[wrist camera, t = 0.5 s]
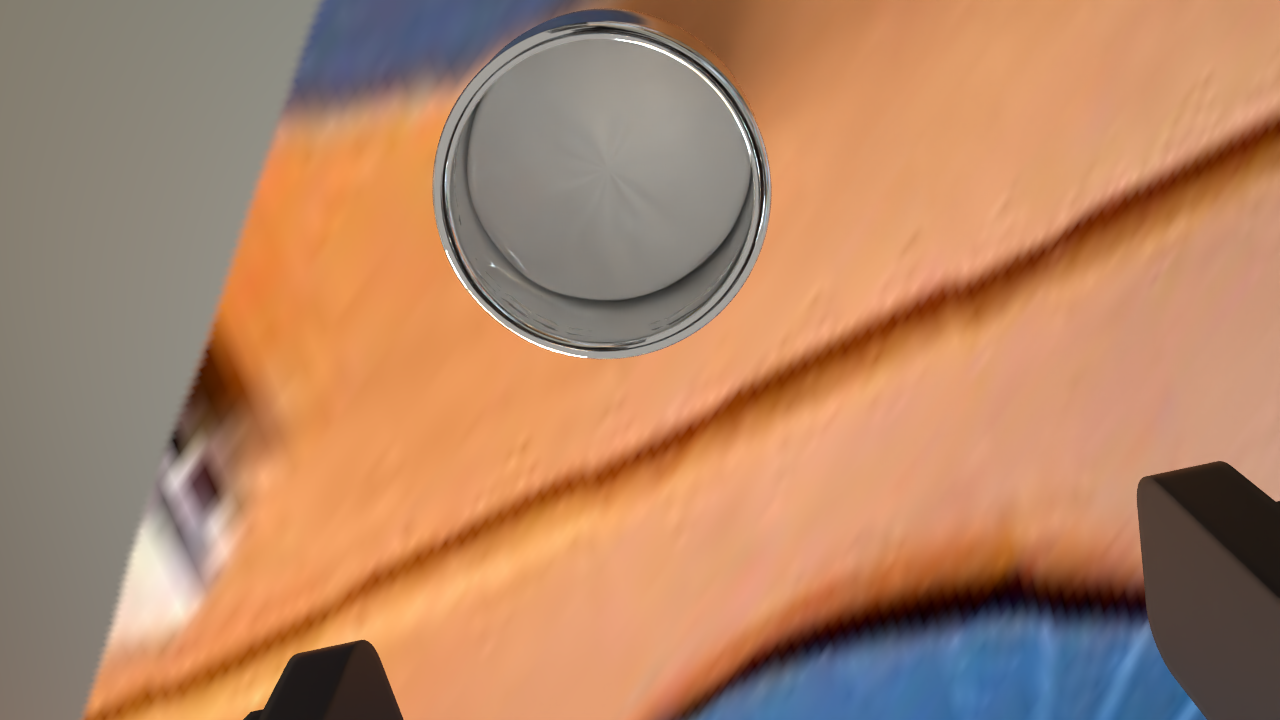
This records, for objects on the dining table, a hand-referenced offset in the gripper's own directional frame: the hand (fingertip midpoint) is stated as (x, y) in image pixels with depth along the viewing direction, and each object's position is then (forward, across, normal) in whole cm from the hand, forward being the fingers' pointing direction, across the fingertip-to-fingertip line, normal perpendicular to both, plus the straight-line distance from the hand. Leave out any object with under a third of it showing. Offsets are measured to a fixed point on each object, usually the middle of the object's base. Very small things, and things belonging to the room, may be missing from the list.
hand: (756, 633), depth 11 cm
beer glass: (+26, +1, -3) cm, 26 cm away
